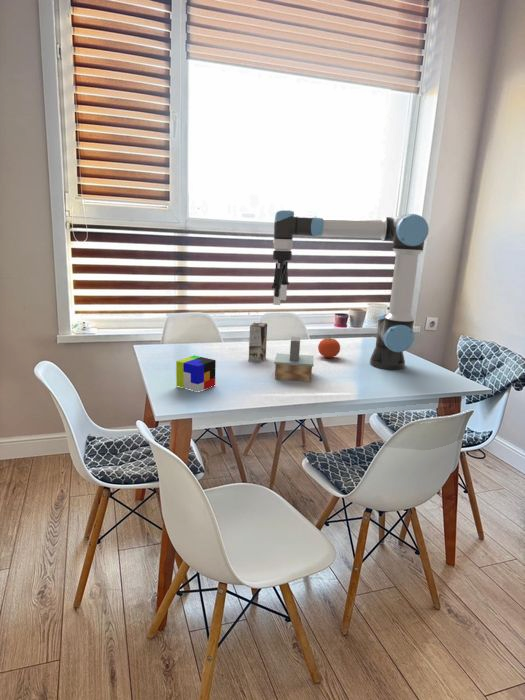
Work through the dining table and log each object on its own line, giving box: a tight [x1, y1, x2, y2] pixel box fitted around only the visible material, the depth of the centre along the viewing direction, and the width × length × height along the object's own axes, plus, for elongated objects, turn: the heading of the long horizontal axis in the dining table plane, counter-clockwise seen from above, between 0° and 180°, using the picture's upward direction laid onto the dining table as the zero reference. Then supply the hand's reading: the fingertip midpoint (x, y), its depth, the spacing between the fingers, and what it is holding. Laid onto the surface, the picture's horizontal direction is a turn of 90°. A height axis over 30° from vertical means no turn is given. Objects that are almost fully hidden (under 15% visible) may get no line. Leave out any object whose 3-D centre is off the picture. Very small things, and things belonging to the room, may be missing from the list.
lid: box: [273, 336, 315, 367], centre depth 184 cm, size 15×13×10 cm
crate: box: [274, 364, 313, 383], centre depth 186 cm, size 14×12×7 cm
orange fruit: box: [317, 337, 341, 359], centre depth 217 cm, size 10×10×10 cm
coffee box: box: [248, 322, 268, 363], centre depth 208 cm, size 9×6×16 cm
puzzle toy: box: [175, 354, 217, 392], centre depth 171 cm, size 10×10×10 cm
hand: (279, 302), depth 194 cm, fingers open, 13 cm apart
